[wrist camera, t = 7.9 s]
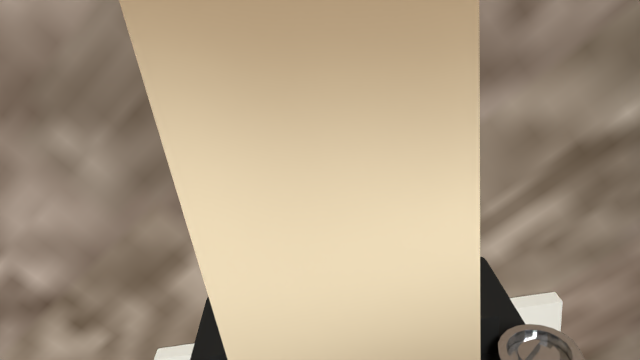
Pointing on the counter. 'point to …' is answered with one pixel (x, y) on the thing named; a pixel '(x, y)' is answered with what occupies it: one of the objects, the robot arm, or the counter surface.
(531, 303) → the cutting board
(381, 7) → the tall beige plank
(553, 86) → the counter surface
